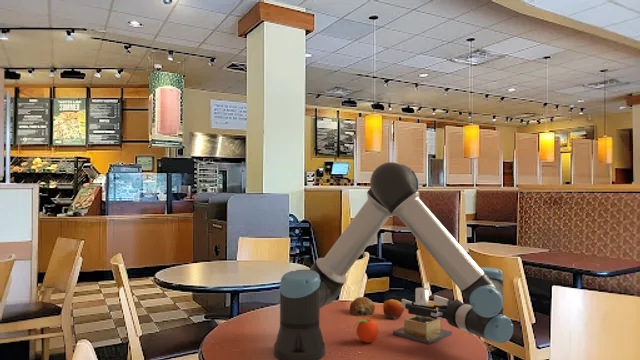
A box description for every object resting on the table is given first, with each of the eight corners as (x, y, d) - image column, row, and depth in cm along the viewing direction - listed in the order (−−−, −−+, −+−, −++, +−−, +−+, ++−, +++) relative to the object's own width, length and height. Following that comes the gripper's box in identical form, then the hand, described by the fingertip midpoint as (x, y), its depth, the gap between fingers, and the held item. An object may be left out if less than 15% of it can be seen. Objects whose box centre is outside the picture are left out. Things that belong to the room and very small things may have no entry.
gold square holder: (429, 344, 139) (429, 328, 139) (392, 334, 149) (392, 319, 149) (451, 334, 149) (451, 319, 149) (416, 325, 159) (415, 311, 159)
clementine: (356, 346, 136) (356, 323, 136) (350, 339, 143) (350, 317, 143) (381, 345, 138) (381, 321, 138) (374, 338, 144) (374, 316, 145)
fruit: (378, 316, 166) (382, 295, 170) (384, 322, 172) (387, 302, 176) (398, 318, 162) (402, 297, 166) (404, 325, 168) (407, 305, 172)
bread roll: (376, 322, 176) (380, 302, 179) (366, 316, 168) (370, 295, 172) (354, 318, 181) (358, 298, 184) (343, 312, 174) (348, 292, 177)
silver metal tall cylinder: (424, 334, 145) (424, 291, 146) (412, 331, 149) (412, 289, 149) (431, 331, 149) (431, 289, 149) (420, 328, 152) (420, 287, 152)
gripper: (430, 334, 126) (388, 316, 145) (494, 324, 137) (447, 308, 156) (430, 308, 126) (388, 293, 146) (494, 300, 137) (447, 287, 156)
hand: (418, 301), depth 151 cm, fingers open, 13 cm apart
